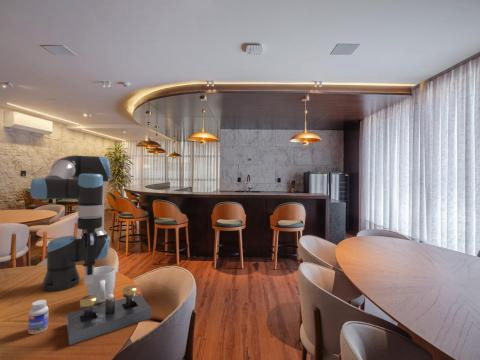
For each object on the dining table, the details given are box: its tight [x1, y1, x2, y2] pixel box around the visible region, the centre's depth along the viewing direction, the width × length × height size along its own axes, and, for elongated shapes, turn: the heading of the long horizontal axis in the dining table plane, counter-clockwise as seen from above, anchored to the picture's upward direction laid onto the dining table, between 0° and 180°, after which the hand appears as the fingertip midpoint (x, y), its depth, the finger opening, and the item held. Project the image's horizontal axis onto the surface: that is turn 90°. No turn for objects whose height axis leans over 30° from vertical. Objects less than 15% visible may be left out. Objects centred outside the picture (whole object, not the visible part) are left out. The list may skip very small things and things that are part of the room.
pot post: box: [104, 293, 116, 313], centre depth 92 cm, size 3×3×6 cm
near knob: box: [79, 295, 98, 318], centre depth 88 cm, size 5×5×6 cm
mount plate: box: [66, 294, 152, 347], centre depth 92 cm, size 14×26×4 cm, turn 128°
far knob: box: [122, 285, 138, 306], centre depth 97 cm, size 5×5×6 cm
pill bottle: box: [27, 299, 49, 335], centre depth 86 cm, size 5×5×10 cm
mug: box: [86, 265, 116, 304], centre depth 107 cm, size 15×11×13 cm
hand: (88, 282), depth 88 cm, fingers closed
